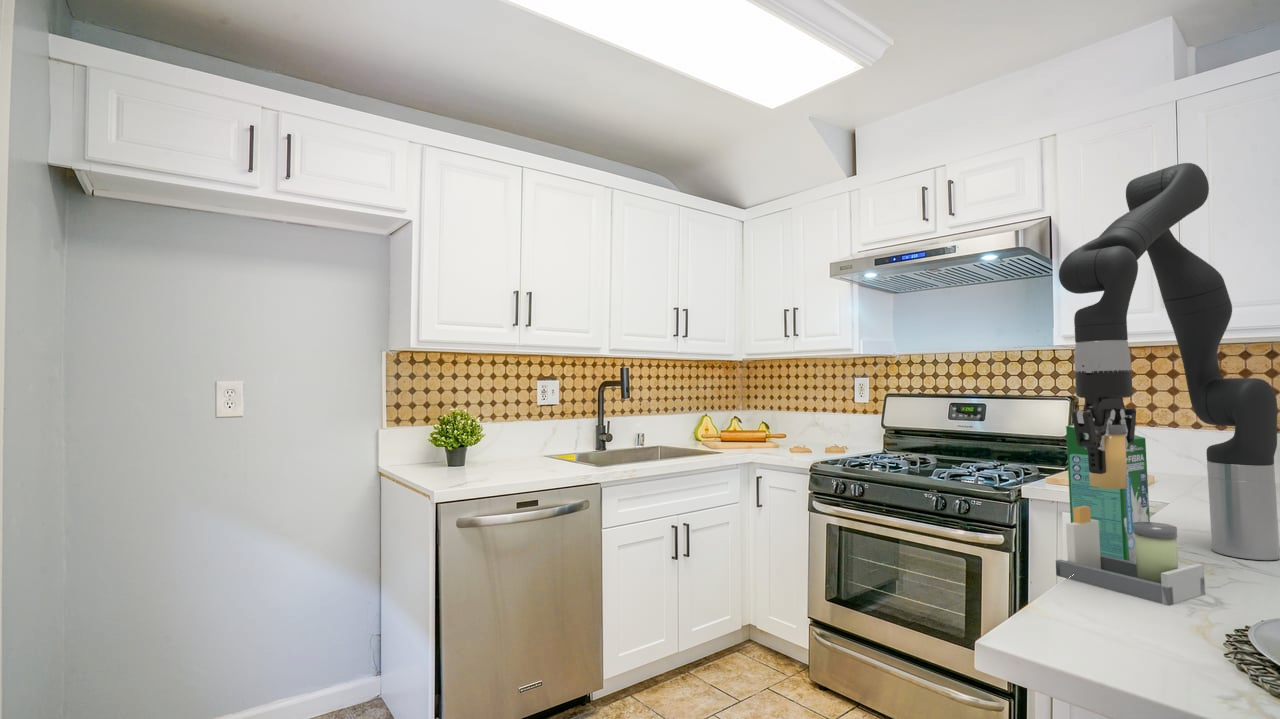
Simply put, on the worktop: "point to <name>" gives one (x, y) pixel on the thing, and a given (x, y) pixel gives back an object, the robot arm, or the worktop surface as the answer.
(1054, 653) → the worktop surface
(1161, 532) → the green jar
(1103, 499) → the milk carton
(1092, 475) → the amber jar
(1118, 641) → the worktop surface
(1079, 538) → the block
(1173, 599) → the grey tray
